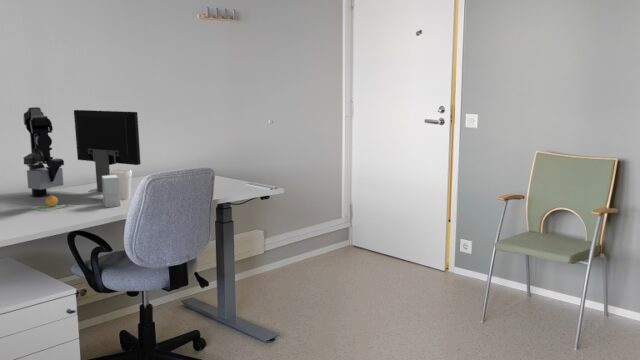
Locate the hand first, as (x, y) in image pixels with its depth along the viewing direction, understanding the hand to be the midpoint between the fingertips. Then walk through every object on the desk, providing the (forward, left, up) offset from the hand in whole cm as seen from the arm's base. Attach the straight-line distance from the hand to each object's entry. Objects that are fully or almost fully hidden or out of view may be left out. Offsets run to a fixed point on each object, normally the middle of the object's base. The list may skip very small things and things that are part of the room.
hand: (45, 181), depth 266 cm
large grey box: (0, 0, -2) cm, 2 cm away
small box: (+22, +16, -12) cm, 30 cm away
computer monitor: (-2, +38, -12) cm, 40 cm away
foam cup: (+16, +29, -12) cm, 35 cm away
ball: (0, +2, -10) cm, 10 cm away
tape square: (0, 0, -12) cm, 12 cm away
